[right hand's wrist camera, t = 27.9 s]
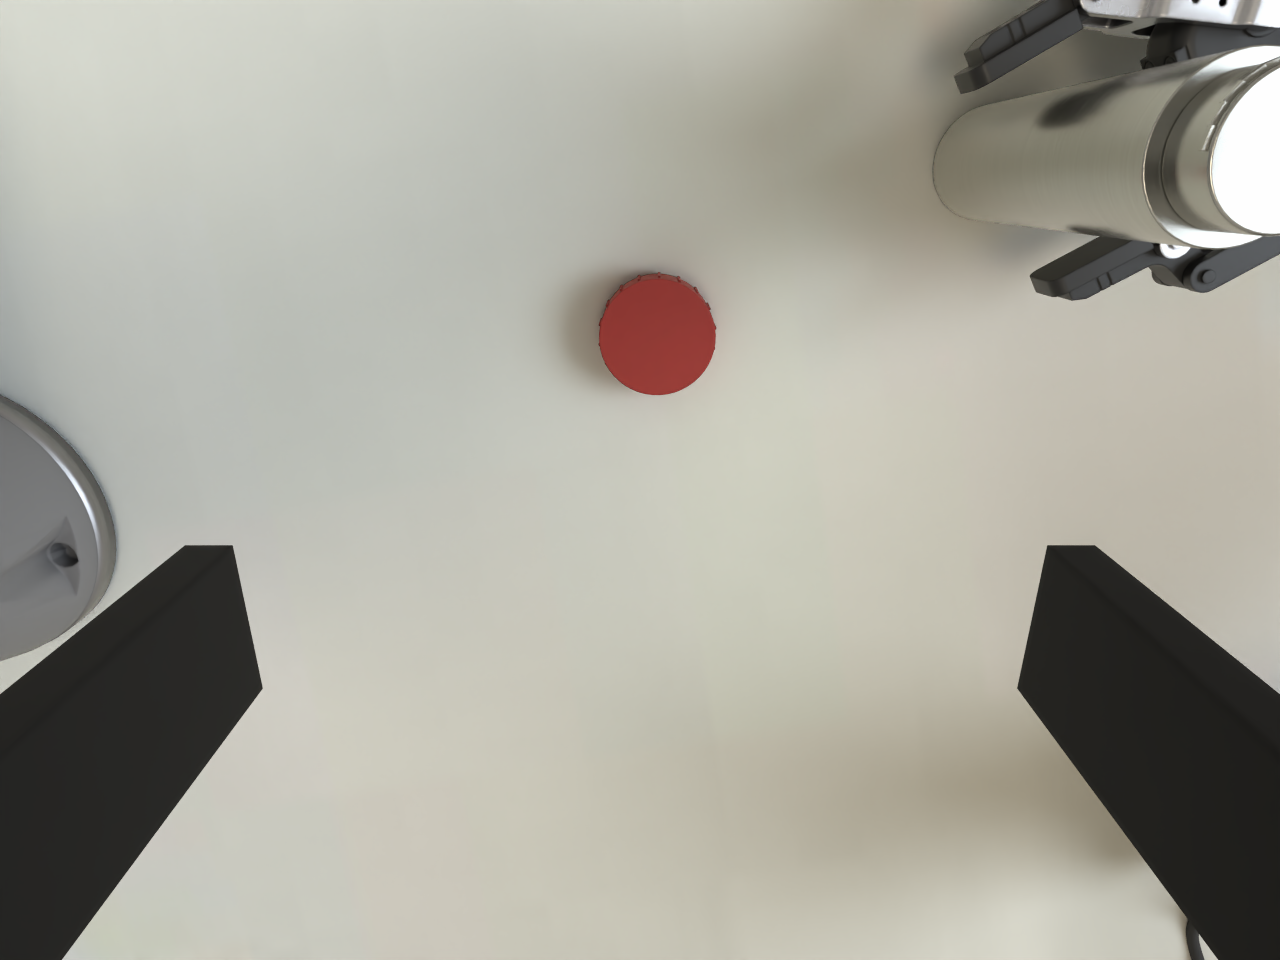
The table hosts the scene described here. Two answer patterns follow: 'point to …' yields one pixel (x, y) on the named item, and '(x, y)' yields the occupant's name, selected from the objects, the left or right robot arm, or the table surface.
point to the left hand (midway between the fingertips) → (1004, 189)
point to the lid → (657, 334)
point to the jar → (1129, 155)
